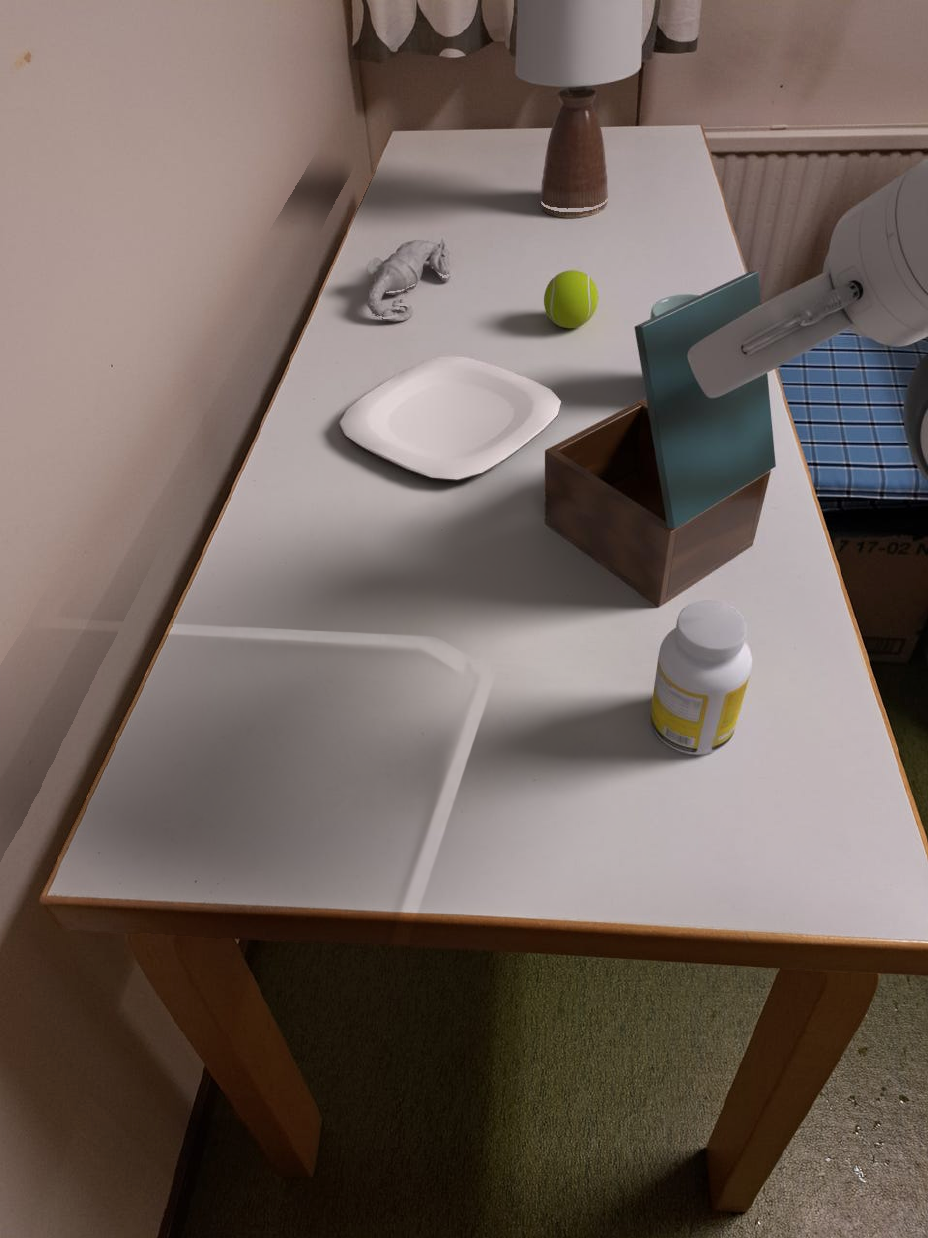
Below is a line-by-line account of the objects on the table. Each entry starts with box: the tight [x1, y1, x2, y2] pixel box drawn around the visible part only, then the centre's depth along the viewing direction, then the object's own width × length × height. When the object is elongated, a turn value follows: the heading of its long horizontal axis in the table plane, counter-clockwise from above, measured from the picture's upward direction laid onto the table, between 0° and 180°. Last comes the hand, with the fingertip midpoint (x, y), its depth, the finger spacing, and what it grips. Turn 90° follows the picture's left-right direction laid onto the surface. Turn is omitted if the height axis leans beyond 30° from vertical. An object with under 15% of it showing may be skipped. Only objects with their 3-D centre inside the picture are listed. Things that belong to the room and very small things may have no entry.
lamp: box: [514, 0, 643, 219], centre depth 125 cm, size 19×19×37 cm
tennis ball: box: [543, 269, 599, 329], centre depth 109 cm, size 7×7×7 cm
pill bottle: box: [650, 599, 753, 755], centre depth 62 cm, size 6×6×12 cm
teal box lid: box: [634, 270, 777, 529], centre depth 66 cm, size 16×13×1 cm
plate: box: [339, 355, 562, 482], centre depth 96 cm, size 22×22×2 cm
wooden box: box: [544, 399, 772, 608], centre depth 78 cm, size 16×13×9 cm
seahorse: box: [365, 238, 451, 323], centre depth 119 cm, size 5×12×20 cm
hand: (743, 353), depth 61 cm, fingers closed
